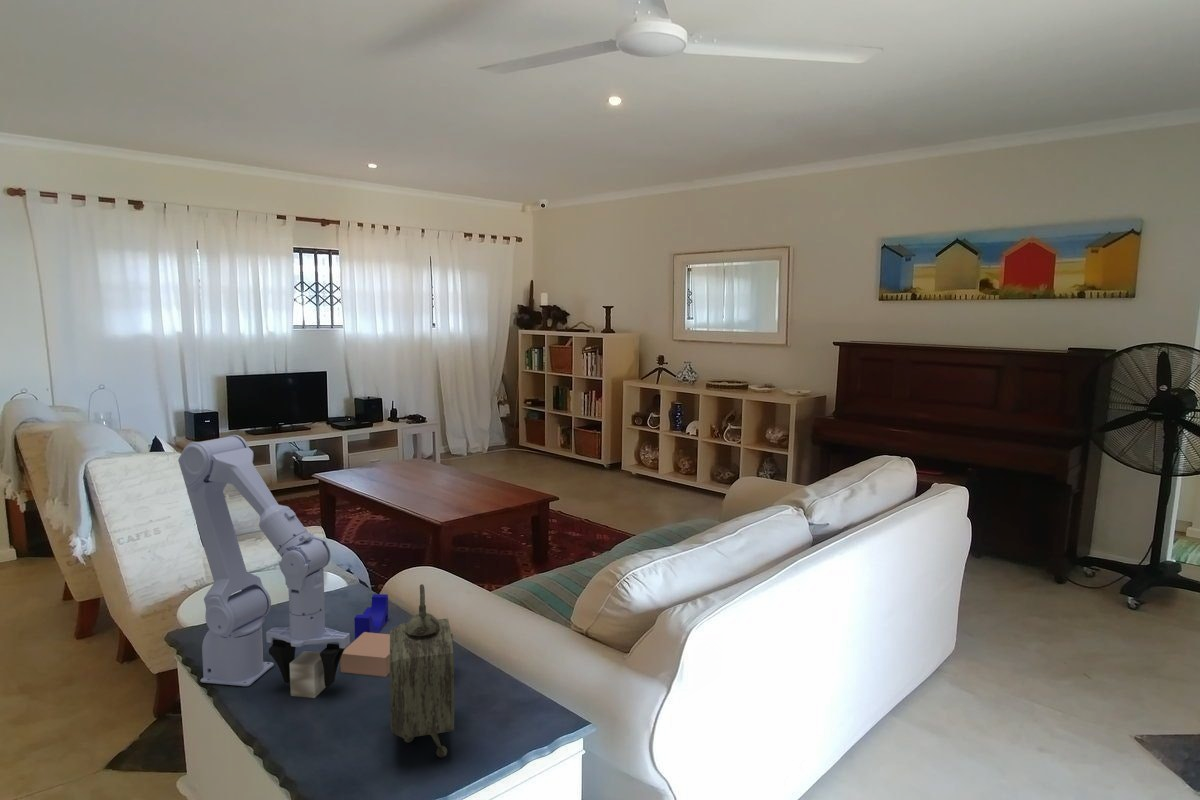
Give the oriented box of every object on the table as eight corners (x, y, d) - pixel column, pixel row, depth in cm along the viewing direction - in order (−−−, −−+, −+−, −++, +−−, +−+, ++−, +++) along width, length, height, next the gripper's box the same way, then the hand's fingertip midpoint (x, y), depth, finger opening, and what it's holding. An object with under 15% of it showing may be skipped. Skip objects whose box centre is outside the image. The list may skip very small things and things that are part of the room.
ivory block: (290, 695, 120) (289, 663, 119) (304, 682, 125) (303, 651, 124) (315, 698, 120) (313, 665, 119) (328, 684, 124) (327, 652, 123)
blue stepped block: (367, 620, 151) (367, 594, 150) (388, 620, 151) (387, 594, 150) (347, 646, 139) (347, 617, 138) (369, 646, 139) (369, 618, 138)
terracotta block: (340, 673, 128) (340, 653, 128) (364, 651, 137) (364, 632, 137) (385, 678, 127) (385, 657, 127) (407, 655, 136) (406, 635, 135)
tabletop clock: (454, 763, 103) (453, 603, 100) (391, 773, 100) (388, 609, 97) (447, 710, 116) (446, 568, 114) (391, 718, 114) (389, 573, 111)
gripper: (254, 615, 117) (257, 690, 119) (334, 621, 116) (337, 697, 117) (278, 599, 124) (281, 670, 126) (354, 604, 123) (356, 676, 124)
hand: (309, 682), depth 122 cm, fingers open, 7 cm apart
